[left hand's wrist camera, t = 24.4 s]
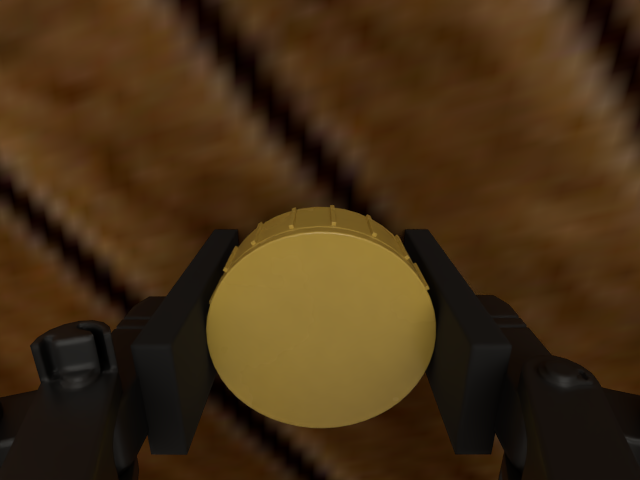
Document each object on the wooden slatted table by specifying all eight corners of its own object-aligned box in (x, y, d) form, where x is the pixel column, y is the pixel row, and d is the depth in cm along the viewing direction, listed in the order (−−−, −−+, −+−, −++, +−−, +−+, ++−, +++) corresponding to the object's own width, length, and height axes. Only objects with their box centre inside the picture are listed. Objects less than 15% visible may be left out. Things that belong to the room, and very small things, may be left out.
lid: (294, 160, 11) (289, 178, 9) (462, 280, 12) (489, 317, 10) (184, 318, 12) (160, 361, 10) (341, 409, 14) (345, 462, 12)
